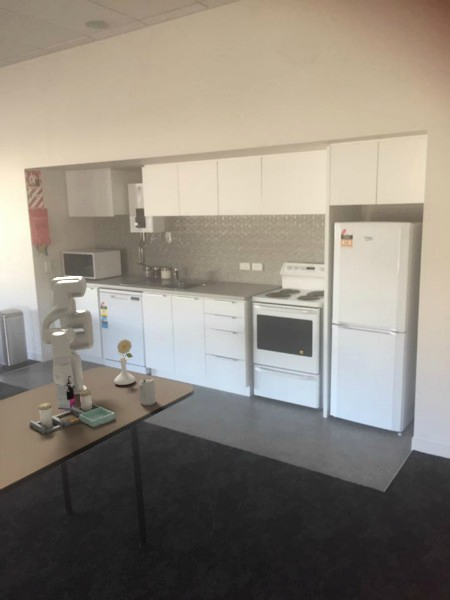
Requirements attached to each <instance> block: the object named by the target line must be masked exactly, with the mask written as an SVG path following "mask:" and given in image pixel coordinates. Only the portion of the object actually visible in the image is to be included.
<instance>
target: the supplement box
mask: <svg viewBox="0 0 450 600" xmlns="http://www.w3.org/2000/svg"><path fill="white" fill-rule="evenodd" d="M67 384H70V383H67ZM69 387H70V386H68V388H69ZM55 388H56V389H55V390H56V401H57V402H56V403H57V409H58V410H67V411H70V408H72V407H74V406H75V405H76V399H75V396H74V398H73V399H70V400H67V394H66V392H67V389H66V387H63V386H61V385H58V384H57V385H56V384H55ZM73 391H74V390H73Z"/></svg>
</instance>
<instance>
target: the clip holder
mask: <svg viewBox="0 0 450 600" xmlns="http://www.w3.org/2000/svg"><path fill="white" fill-rule="evenodd" d="M99 407H101V406H100V405H97V404H95V403H94V402H92V409H96V408H99ZM82 413H85V412H83V411H81V406H79V407H74V406H73V407H72V408H70V409H69V410H67V411H64V412H61V413H58V414H56V415H53V414H52V419H53V425H55V426H53V427H52V428H50V429H46V428H45V427H43V426H41V422H40V420H38V421H34V420H29V424H28V426H29V428H33V429H34V430H36V431H38V432H40V433H41V435H46V434H49V433H53V432H55V431H58V430H60V429H63V428H66V427H68V426H71V425H74V424H77V423H80V422H81V421H80V419H79V414H82ZM70 414H71V415H72V414H73V415H75V416H77V417H78V418H77V417H75V418H73V419H70V420H68V421H67V422H66V421H65V420H63V419H60V418H62V417H65V416H68V415H70Z"/></svg>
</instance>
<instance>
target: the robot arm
mask: <svg viewBox="0 0 450 600" xmlns="http://www.w3.org/2000/svg"><path fill="white" fill-rule="evenodd" d="M49 285H50V289H51V291H52V309H51V310H50V311H48V313H47V314H46V315H45V316H44V319H43V320H42V323H41V340H42V343H43V344H44V345H45V346H51V352H52V353H51V354H52V376H53V377H52V379H53V382H54V384H55V386H56V385H57V384H58V385H61V386H63V387H66V389H67V392H66V394H67V400H70V399H73V398H74V397H75V396H76V395H80V392H81V391H83V390H88V389H87V388H88V387H87V386H86V385H85V384H84V377H83V365H82V357H81V355H80V354H79V353H78V352H77V351H81V350H82V351H83V350H84V351H85V350H90V349H92V348H94V346H95V345H94V343H95V338H94V337H95V336H94V329H93V328H94V327H93V316H92V314H91V312H90V310H88V309H77V305H76V304H77V303H76V300H75V298H82V297H84V296H85V294H86V292H87V279H86V278H85V277H84V276H81V275H78V276H76V275H75V276H62V277H60V276H58V277H55V278H52V279H50V282H49ZM58 320H59V325H60V327H52V328H51V327H50V326H51V325H52V324H53V323H54V322H56V321H58ZM80 329H82V330H80ZM75 330H78V331H75ZM79 330H80V331H79ZM67 383H70V384H67ZM68 386H70V387H69V388H68ZM73 390H74V391H73Z"/></svg>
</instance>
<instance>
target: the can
mask: <svg viewBox="0 0 450 600" xmlns="http://www.w3.org/2000/svg"><path fill="white" fill-rule="evenodd" d="M138 386H139V400H140V401H139V402H140V403H141V404H142V406H146V407H147V406H148V407H149V406H152V405H154V404H155V403H156V402H157V395H156V393H157V392H156V382H155V380H154V378H153V377H145V378H144V377H143V378H141V379H140V381H139V384H138Z"/></svg>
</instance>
